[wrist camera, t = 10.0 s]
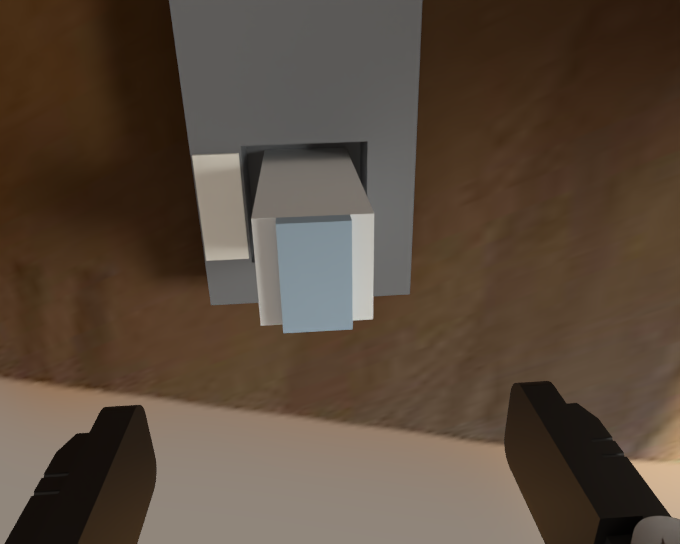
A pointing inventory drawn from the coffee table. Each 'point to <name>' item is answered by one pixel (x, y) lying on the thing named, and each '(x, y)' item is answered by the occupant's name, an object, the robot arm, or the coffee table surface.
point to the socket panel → (298, 116)
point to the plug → (312, 241)
